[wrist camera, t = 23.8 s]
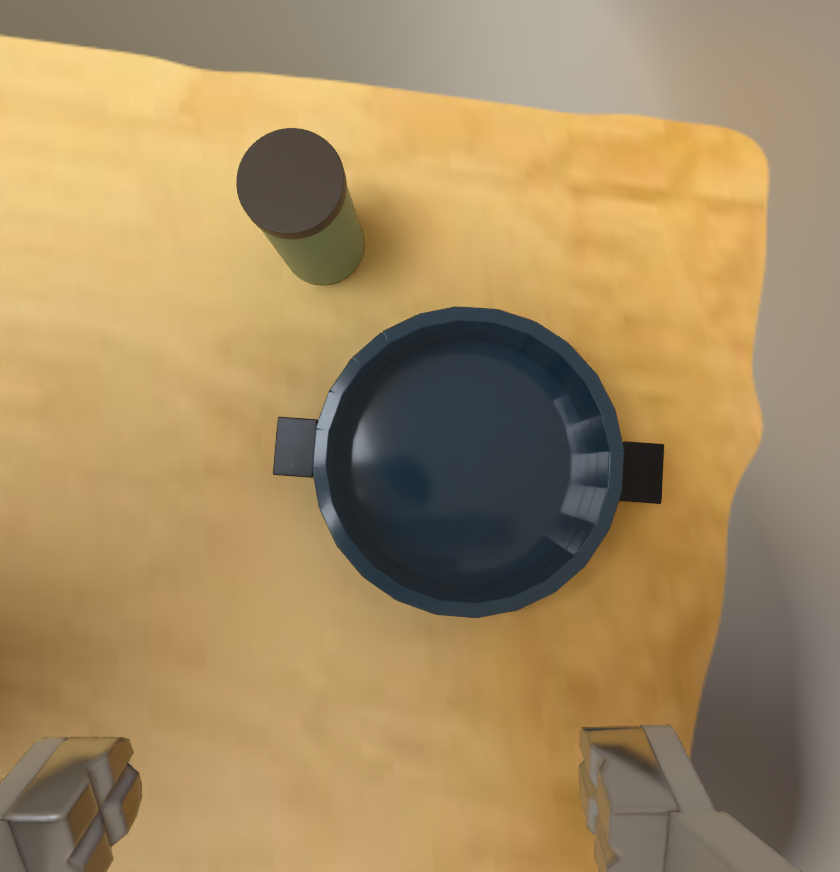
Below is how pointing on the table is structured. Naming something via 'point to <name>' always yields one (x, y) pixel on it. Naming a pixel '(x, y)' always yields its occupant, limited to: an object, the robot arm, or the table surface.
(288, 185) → the canister
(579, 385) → the pot
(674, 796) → the robot arm
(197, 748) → the table surface
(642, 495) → the pot ear handles
